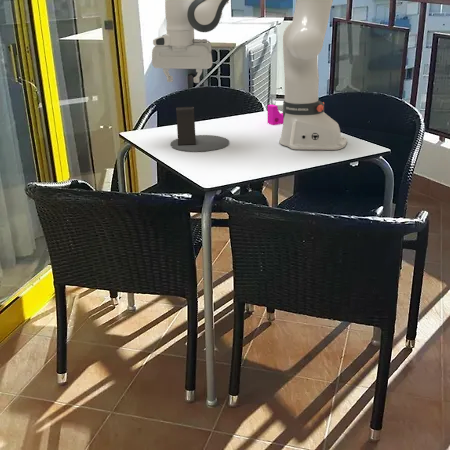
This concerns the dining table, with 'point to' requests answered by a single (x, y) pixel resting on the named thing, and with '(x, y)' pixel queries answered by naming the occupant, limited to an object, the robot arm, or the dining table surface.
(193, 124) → the phone stand
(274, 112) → the toy block
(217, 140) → the mat
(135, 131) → the dining table surface
